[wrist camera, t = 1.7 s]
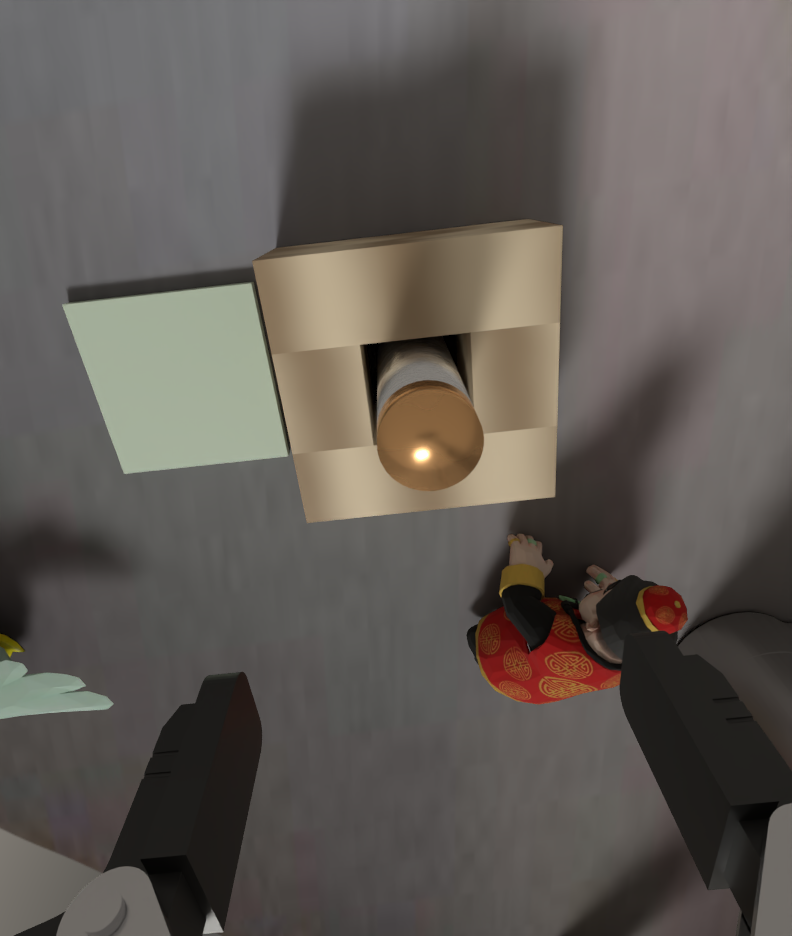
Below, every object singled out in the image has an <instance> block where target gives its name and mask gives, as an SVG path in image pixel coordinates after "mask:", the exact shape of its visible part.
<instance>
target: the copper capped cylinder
mask: <svg viewBox="0 0 792 936" xmlns="http://www.w3.org/2000/svg"><path fill="white" fill-rule="evenodd" d="M483 447H484V433H483V429H482V425H481V423H480V421H479V418H478V416H477V414H476V411H475V409H474V407H473V404H472V402H471V400H470V398H469V395H468V393H467V391H466V388H465V386H464V384H463V382H462V379H461V377H460V375H459V372H458V370H457V368H456V366H455V363H454V361H453V359H452V357H451V354H450V352H449V350H448V347H447V345H446V343H445V341H444V339H443V337H442V336H435V337H426V338H417V339H408V340H399V341H390V342H381V343H380V345H379V349H378V355H377V452H378V456H379V459H380V462H381V464H382V466H383V468H384V469H385V470H386V472H387V473H388V474H389V475H390V476H391V477H392V478H393V479H394V480H395V481H397V482H398V483H400V484H402V485H404V486H406V487H408V488H411V489H414V490H420V491H437V490H442V489H446V488H449V487H451V486H453V485H455V484H457V483H459V482H461V481H462V480H463V479H465V478H466V477H467V476H468V475H469V474H470V473H471V472H472V471H473V470H474V468H475V467H476V465H477V464H478V462H479V460H480V458H481V455H482V452H483Z"/></svg>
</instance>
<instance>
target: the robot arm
mask: <svg viewBox="0 0 792 936" xmlns="http://www.w3.org/2000/svg"><path fill="white" fill-rule="evenodd" d="M620 696H621V702H622V706H623V709H624V712H625V715H626V717H627V719H628V722H629V724H630V726H631V728H632V730H633V732H634V734H635V736H636V739H637V741H638V743H639V745H640V747H641V749H642V751H643V753H644V756H645V758H646V760H647V762H648V764H649V766H650V768H651V770H652V772H653V775H654V777H655V779H656V781H657V783H658V785H659V787H660V789H661V792H662V794H663V796H664V798H665V800H666V802H667V804H668V806H669V808H670V811H671V813H672V815H673V817H674V819H675V821H676V823H677V825H678V828H679V830H680V832H681V834H682V836H683V838H684V840H685V842H686V845H687V847H688V849H689V851H690V853H691V855H692V857H693V859H694V861H695V864H696V866H697V868H698V870H699V872H700V874H701V876H702V878H703V881H704V883H705V885H706V887H707V889H708V890H715V889H726V888H730V889H731V891H732V893H733V895H734V897H735V899H736V901H737V903H738V905H739V907H740V912H739V916H738V922H737V929H736V936H792V623H784V622H781V621H779V620H778V619H776V618H774V617H772V616H769V615H766V614H762V613H753V612H744V613H734V614H730V615H726V616H722V617H719V618H717V619H714V620H712V621H709V622H707V623H705V624H704V625H702V626H700V627H699V628H697V629H695V630H694V631H693V632H692V633H690V634H689V635H688V636H687V637H686V638H685V639H684V640H683V641H682V642H681V643H680V644H679V646H677V645H676V643H675V642H674V640H673V639H672V637H671V636H670V635H669V634H668V633H667V632H666V631H664V630H663V631H653V632H643V633H633V634H627V635H626V636H625V640H624V648H623V658H622V667H621V677H620ZM261 746H262V727H261V721H260V717H259V714H258V711H257V708H256V705H255V701H254V698H253V695H252V692H251V689H250V686H249V683H248V679H247V677H246V675H245V673H244V672H238V673H228V674H218V675H208V676H207V677H206V678H205V679H204V681H203V683H202V686H201V689H200V691H199V694H198V697H197V700H196V703H195V704H185V705H181V706H180V707H179V708H178V709H177V711H176V712H175V713H174V714H173V716H172V717H171V718H170V719H169V720H168V722H167V723H166V724H165V725H164V727H163V728H162V731H161V733H160V736H159V738H158V741H157V743H156V746H155V748H154V751H153V757H152V758H150V761H149V763H148V766H147V768H146V771H145V773H144V779H142V781H141V783H140V786H139V788H138V791H137V793H136V796H135V798H134V801H133V803H132V806H131V808H130V811H129V813H128V816H127V818H126V821H125V823H124V826H123V828H122V831H121V833H120V836H119V838H118V841H117V843H116V846H115V848H114V851H113V853H112V856H111V858H110V860H109V862H108V865H107V867H106V869H105V870H104V872H103V874H101V875H100V876H98V877H96V878H95V879H93V880H92V881H91V882H90V883H89V884H87V885H86V886H85V887H84V888H83V889H82V890H81V891H80V892H79V893H78V894H77V896H76V897H75V898H74V899H73V901H72V902H71V903H70V905H69V906H68V908H67V910H66V911H65V912H63V913H62V914H60V915H58V916H57V917H54V918H52V919H50V920H48V921H46V922H44V923H41V924H39V925H37V926H35V927H32V928H30V929H28V930H26V931H23V932H21V933H19V934H16V935H14V936H202V935H203V934H207V933H218V932H223V931H224V926H225V921H226V917H227V912H228V907H229V902H230V897H231V893H232V888H233V883H234V878H235V873H236V869H237V864H238V859H239V854H240V849H241V845H242V840H243V835H244V830H245V825H246V820H247V816H248V811H249V806H250V801H251V796H252V792H253V787H254V782H255V777H256V772H257V768H258V763H259V758H260V753H261Z"/></svg>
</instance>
